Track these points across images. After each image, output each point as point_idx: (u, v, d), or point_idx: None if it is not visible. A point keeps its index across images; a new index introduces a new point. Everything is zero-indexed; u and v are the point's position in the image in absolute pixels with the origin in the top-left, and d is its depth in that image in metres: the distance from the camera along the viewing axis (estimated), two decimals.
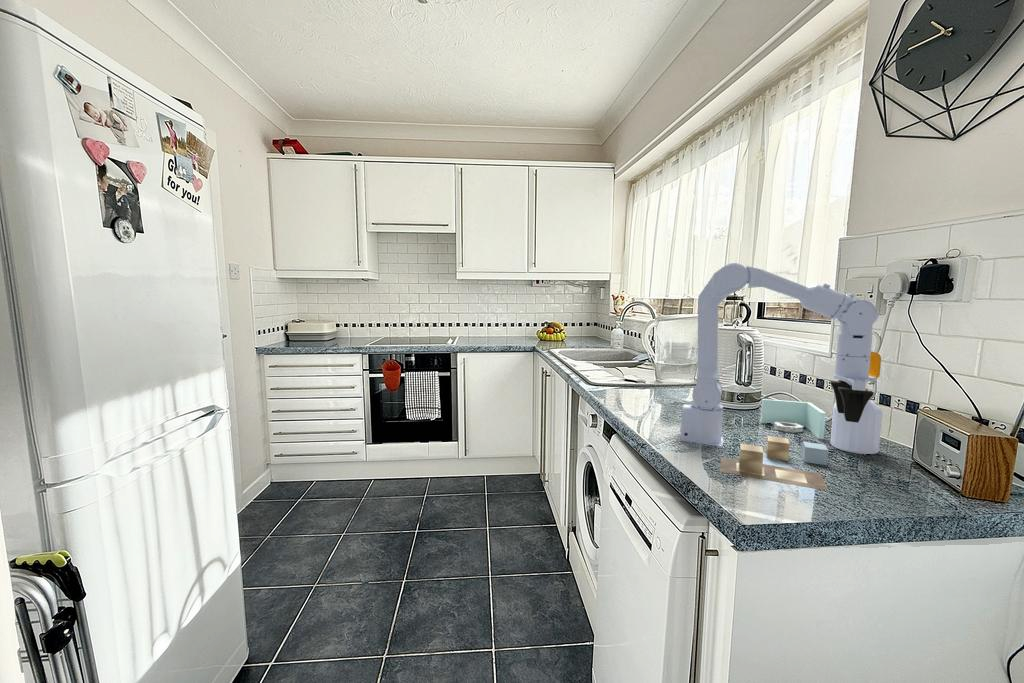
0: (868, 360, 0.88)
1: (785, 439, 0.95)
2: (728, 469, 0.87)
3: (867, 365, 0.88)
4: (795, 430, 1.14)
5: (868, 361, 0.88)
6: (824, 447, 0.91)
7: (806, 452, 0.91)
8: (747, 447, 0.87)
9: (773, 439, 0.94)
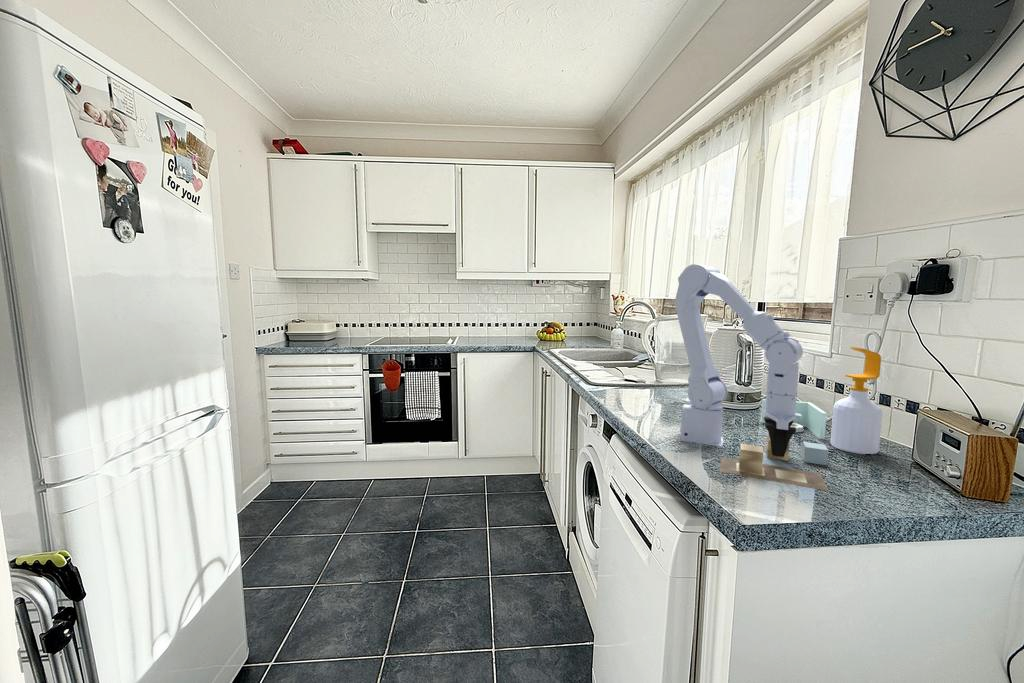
0: (794, 398, 0.91)
1: None
2: (728, 469, 0.87)
3: (793, 403, 0.91)
4: None
5: (794, 399, 0.91)
6: (824, 447, 0.91)
7: (806, 452, 0.91)
8: (747, 447, 0.87)
9: None
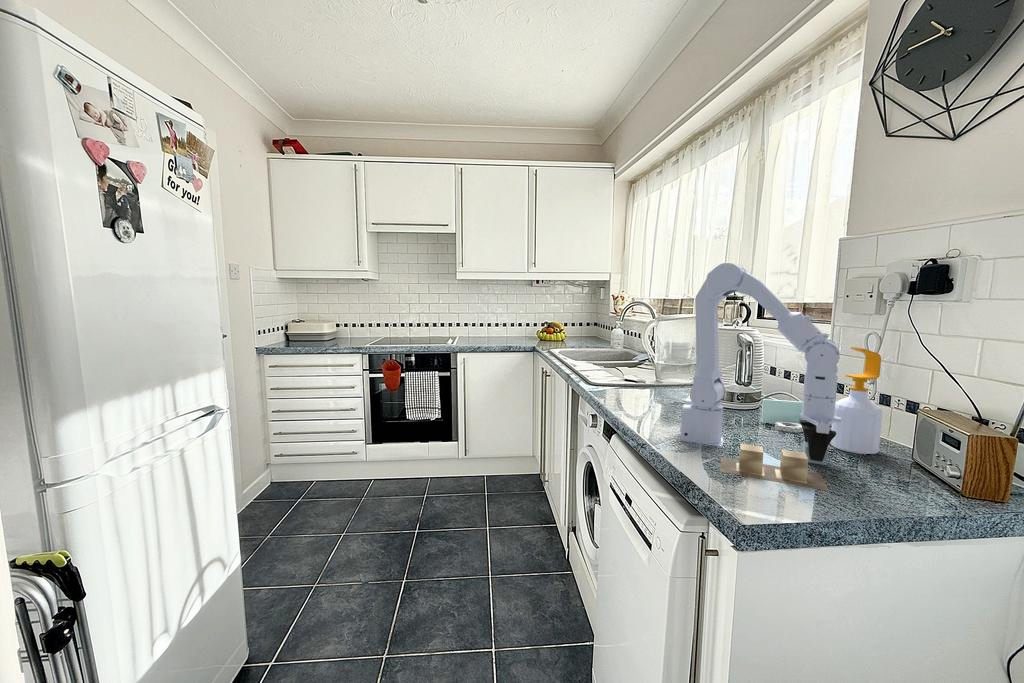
0: (833, 401, 0.89)
1: (802, 454, 0.84)
2: (728, 469, 0.87)
3: (832, 406, 0.89)
4: (797, 430, 1.14)
5: (833, 402, 0.89)
6: None
7: (806, 451, 0.91)
8: (747, 447, 0.87)
9: (788, 454, 0.83)
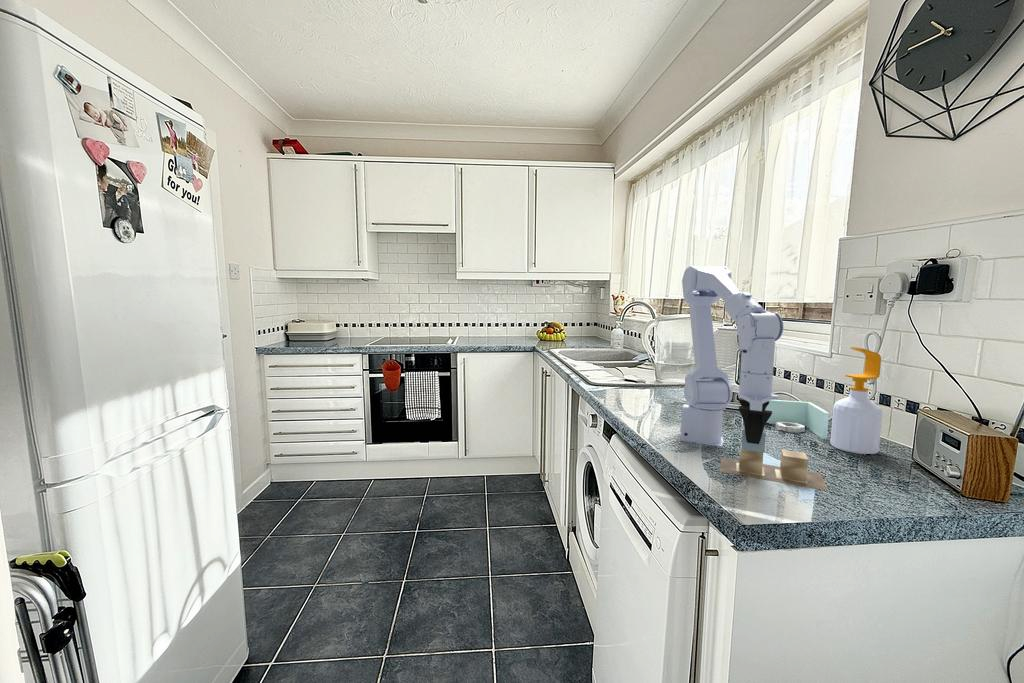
0: (770, 377, 0.83)
1: (802, 454, 0.84)
2: (728, 469, 0.87)
3: (768, 383, 0.83)
4: (798, 430, 1.14)
5: (770, 378, 0.83)
6: None
7: (743, 436, 0.86)
8: None
9: (788, 454, 0.83)
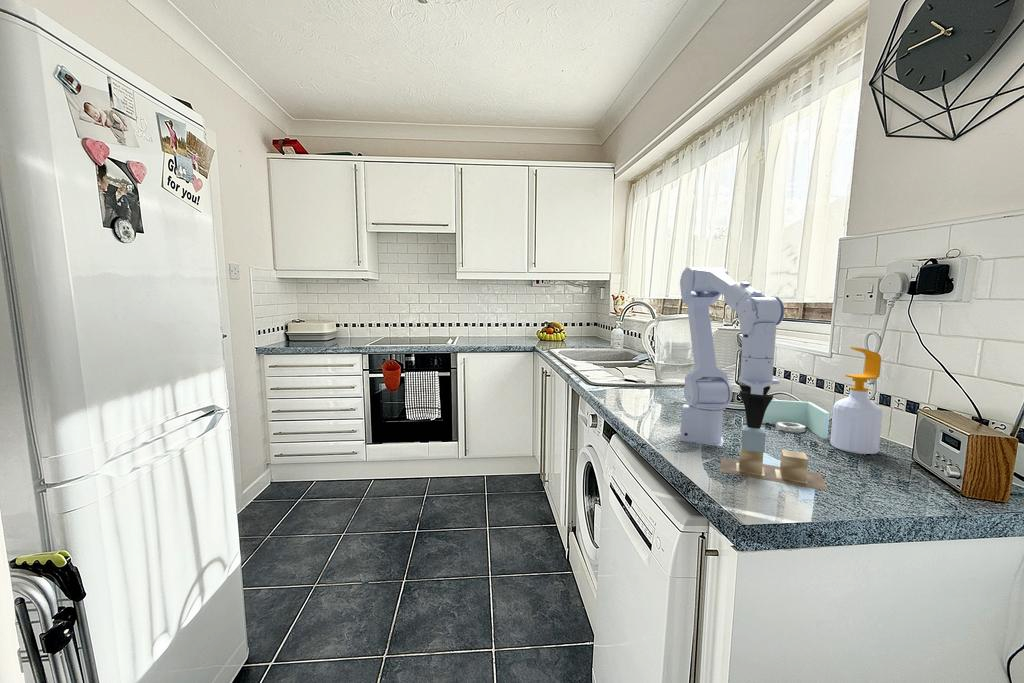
0: (771, 362, 0.83)
1: (802, 454, 0.84)
2: (728, 469, 0.87)
3: (770, 367, 0.83)
4: (798, 430, 1.14)
5: (771, 363, 0.83)
6: (762, 430, 0.85)
7: (743, 436, 0.86)
8: None
9: (788, 454, 0.83)
